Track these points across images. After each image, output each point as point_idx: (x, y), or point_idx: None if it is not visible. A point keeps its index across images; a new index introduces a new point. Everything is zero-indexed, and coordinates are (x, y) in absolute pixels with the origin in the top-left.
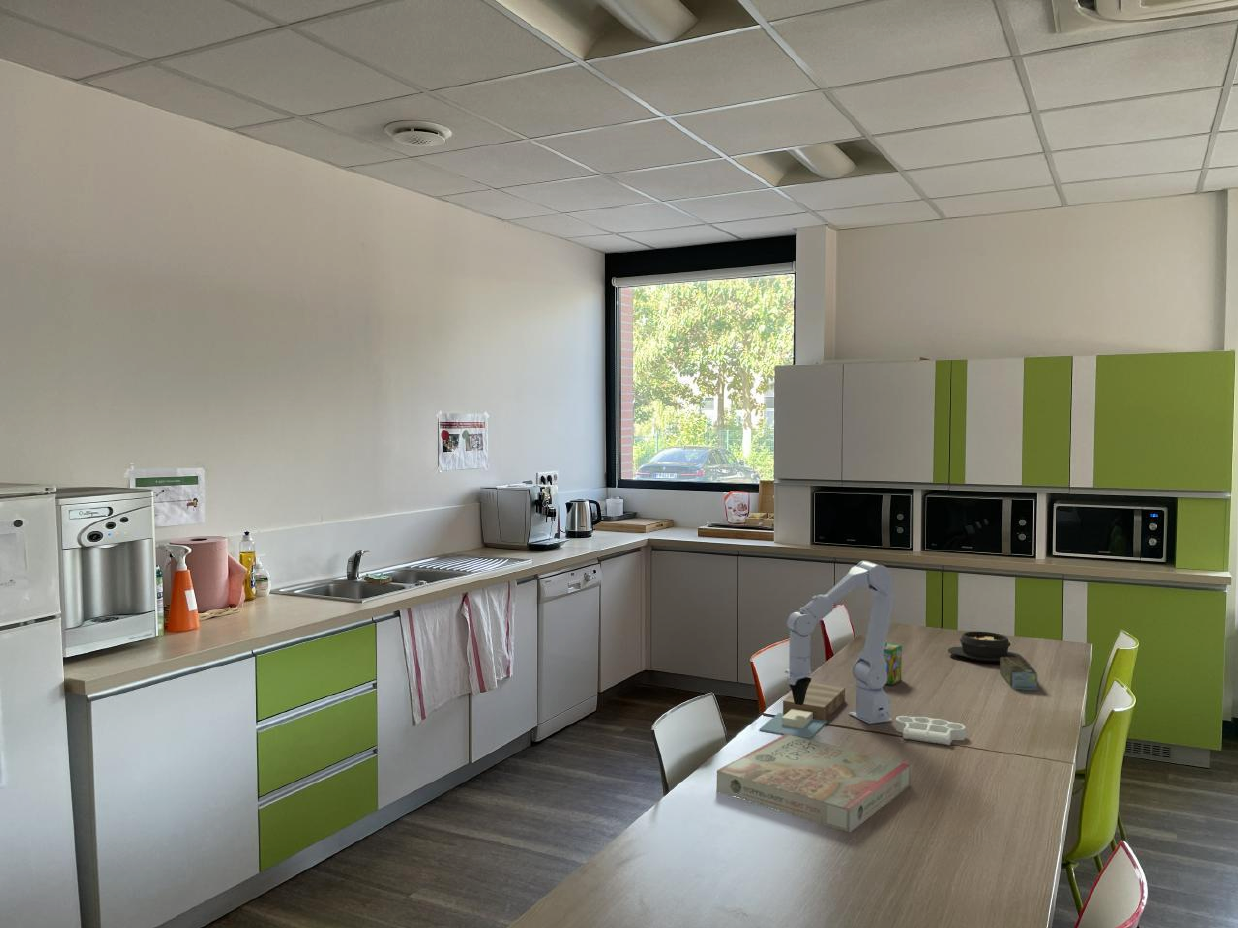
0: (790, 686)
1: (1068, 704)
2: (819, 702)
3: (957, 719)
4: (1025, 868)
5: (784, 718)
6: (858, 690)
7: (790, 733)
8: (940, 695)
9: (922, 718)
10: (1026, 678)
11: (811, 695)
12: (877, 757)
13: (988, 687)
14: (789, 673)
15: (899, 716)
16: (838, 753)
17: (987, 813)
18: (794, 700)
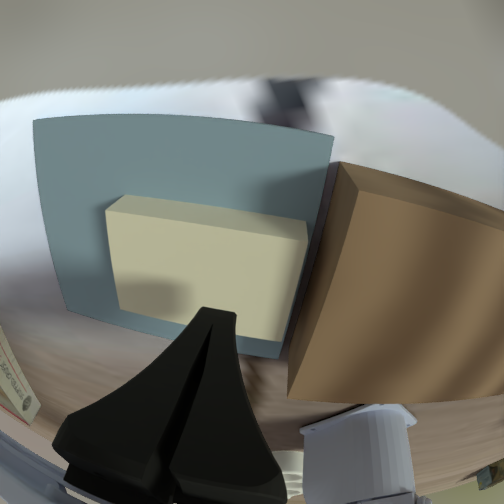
0: (104, 397)
1: (427, 493)
2: (363, 379)
3: None
4: (4, 410)
5: (108, 224)
6: (356, 491)
7: (59, 249)
8: (490, 443)
9: None
10: (483, 481)
11: (478, 332)
12: (12, 405)
13: (501, 454)
14: (4, 497)
15: (302, 474)
16: None
17: (48, 430)
18: (190, 322)
